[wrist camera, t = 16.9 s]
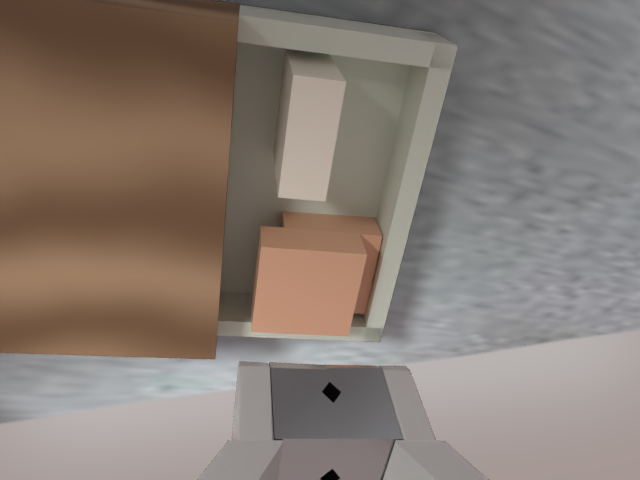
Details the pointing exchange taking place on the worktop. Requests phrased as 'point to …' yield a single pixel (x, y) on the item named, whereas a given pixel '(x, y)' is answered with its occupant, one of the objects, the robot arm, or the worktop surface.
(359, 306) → the tile
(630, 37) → the worktop surface
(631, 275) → the worktop surface
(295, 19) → the tray
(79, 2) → the wooden box
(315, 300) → the tile
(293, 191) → the tile
